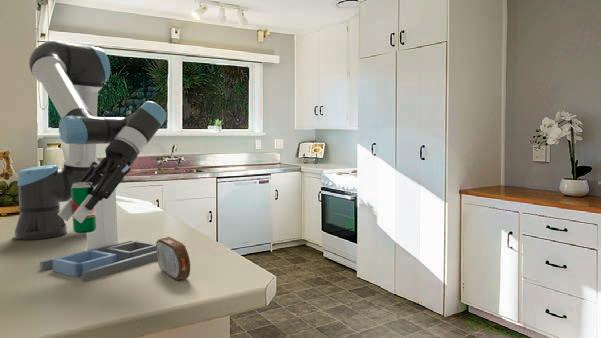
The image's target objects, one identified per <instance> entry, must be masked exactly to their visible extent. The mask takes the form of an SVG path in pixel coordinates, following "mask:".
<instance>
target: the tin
mask: <svg viewBox="0 0 601 338" xmlns="http://www.w3.org/2000/svg"><path fill="white" fill-rule="evenodd" d="M155 244H156V249H157V260H156V261H157V264H158V266H159V269H160V270H161V271H162V272H163V274H166V275H167V276H169V277H170V278H171V279H173V280H174V281H180V280H184V279H189V276H190V275H191V261H190V255H189V252H188V250H187V248H186V245H184V243H183V242H181V241H179V240H177V239H175V238H173V237H171V236H167V237H164V238H159V239H158V240H157V241H156V243H155Z"/></svg>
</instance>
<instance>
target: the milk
mask: <svg viewBox="0 0 601 338" xmlns="http://www.w3.org/2000/svg"><path fill="white" fill-rule="evenodd" d="M101 175H102V174H101ZM102 176H103V175H102ZM96 186H97V185H96ZM96 186H95V187H94V190H95V188H96ZM116 189H117V187H116V188H115V190H114V191H113V192H112V194H111V195H110V197H109V198H108V199H105V198H103V199H102V200H101V201H98V203H97V204H96V205H95V213H96V229H95V230H94V231H93V232H88V233H86V248H87V249H86V251H87V250H91V249H95V248H99V247H103V246H108V245H112V244H116V243H119V240H118V239H119V238H118V216H117V215H118V214H117V192H116V191H117V190H116ZM106 193H107V192H106Z"/></svg>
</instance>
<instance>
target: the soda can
mask: <svg viewBox="0 0 601 338" xmlns="http://www.w3.org/2000/svg"><path fill="white" fill-rule="evenodd" d="M90 191H94V186H93V185H92V182H78V183H73V186H72V187H71V196H72V215H73V214H74V212H75V211H76V210H77V209H78V207H79V206H80V205H81V204H82V202H83V201H84V200H85V199H86V197H87V196H88V195H89V194H91V193H90ZM91 195H92V194H91ZM92 196H93V195H92ZM72 229H73V232H74V233H76V234H87V233H88V232H93V231H94V230H95V229H96V213H95V207H94V208H93V209H92V210H91V212H90V213H89V214H88V215H87V217H86V218H85V219H84V221H83V222H82V223H79V222H78V221H77V220H76V219H74V218H73V217H72Z"/></svg>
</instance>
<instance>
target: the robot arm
mask: <svg viewBox="0 0 601 338" xmlns="http://www.w3.org/2000/svg"><path fill="white" fill-rule="evenodd" d="M28 62H29V63H28V64H29V65H28V66H29V67H28V68H29V69H30V72H31V74H32V76H33V78H34V79H35V80H36V81H37V82H39V83H41V85H42V86H43V88H44V90H45V92H46V93H47V95H48V97H49V99H50V100H51V102H52V104H53V106H54V108H55V109H56V111H57V114H58V115H59V116H60V119H59V123H58V133H59V138H60V139H61V141H62V142H63V143H65V144H67V145H68V158H67V159H65V161H63V168H59V167H58V165H57V164H47V165H38V166H33V167H28V168H24V169H21V170H20V171H19V172H18V175H17V187H18V203H19V205H18V207H19V216H18V219H17V223H16V226H15V228H14V239H15V240H20V239H21V240H23V241H26V240H27V241H30V240H31V241H32V240H42V239H50V238H55V237H56V238H57V237H59V236H63V235H65V234H67V232H68V230H67V229H68V228H67V224H66V223H65V222H68V221H69V219H71V218H72V219H73V218H74V219H76V220H77V221H78V222H79V223H82V222H83V221H84V219H85V218H86V217H87V215H88V214H89V213H90V212H91V210H92V209H93V208H94V207H95V205H96V204H97V203H98V201H101V200H102V199H103V198H105V199H108V198H109V197H110V195H111V194H112V192H113V191H114V190H115V188H116V189H117V187H118V186H119V184H120V183H121V182H122V180H123V179H124V178H125V176H126V175H127V174H129V173H130V172H131V170H132V168H131V167H130V166H132V164H134V162H135V160H136V159H137V158H138V156H139V155H140V154H141V153H142V152H143V150H144V148H145V147H146V146H147V145H148V143H149V142H150V141H151V140H152V139H153V137H154V136H155V134H156V133H157V132H158V131H159V130H160V128H161V127H162V126H163V124H164V123H165V121H166V119H167V112H166V111H165V110H164V108H163V107H162V106H161V104H160V105H159V104H158V103H157V102H154V101H150V100H147V101H144V102H143V103H142V105H141V106H139V107H138V109H137V110H136V111H135V112H133V113H131V114H130V115H128V116H126V117H117V116H116V117H112V116H111V117H110V116H109V117H108V116H107V117H106V116H98V100H99V99H98V95H99V91H100V90H102V89H103V88H104V87H103V86H104V85H103V84H105V83H107V82H108V81H109V79H110V76H111V64H110V60H109V57H108V56H107V53H106V52H105V51H104V50H103V49H102V48H100V47H95V46H91V45H86V44H77V43H72V42H71V43H70V42H62V41H57V40H55V41H54V40H52V41H47V42H44V43H41V44H40V45H38V46H37V47H36V48H35V49H34V50H33V51H32V52H31V54H30V57H29V61H28ZM97 144H98V145H99V144H102V145H103V144H107V147H105V150H104V151H105V152H104V153H105V157H104V158H103V159H102V160H100V161H98V159H97V158H96V155H97ZM101 174H102V175H103V176H102V175H101ZM78 182H92V185H93V186H94V187H95V186H96V185H97V186H96V188H95V190H94V191H90V193H91V194H92V195H93V196H92V195H91V194H89V195H88V196H87V197H86V199H85V200H84V201H83V202H82V204H81V205H80V206H79V207H78V209H77V210H76V211H75V212H74V214H73V215H72V196H71V187H72V186H73V183H78ZM106 192H107V193H106ZM64 202H66V203H65V204H64V205H63V207H62V208H61V207H60V206H61V205H60V204H61V203H64ZM60 208H61V209H60Z"/></svg>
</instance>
